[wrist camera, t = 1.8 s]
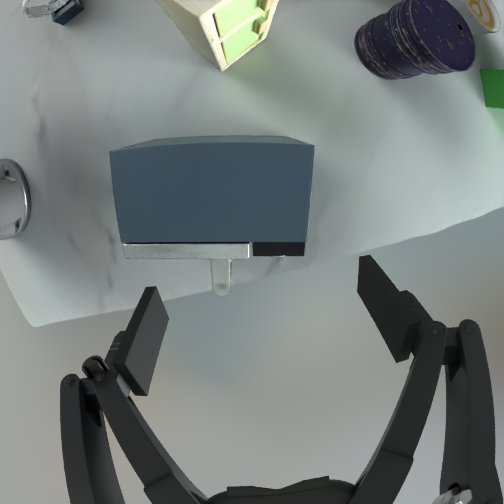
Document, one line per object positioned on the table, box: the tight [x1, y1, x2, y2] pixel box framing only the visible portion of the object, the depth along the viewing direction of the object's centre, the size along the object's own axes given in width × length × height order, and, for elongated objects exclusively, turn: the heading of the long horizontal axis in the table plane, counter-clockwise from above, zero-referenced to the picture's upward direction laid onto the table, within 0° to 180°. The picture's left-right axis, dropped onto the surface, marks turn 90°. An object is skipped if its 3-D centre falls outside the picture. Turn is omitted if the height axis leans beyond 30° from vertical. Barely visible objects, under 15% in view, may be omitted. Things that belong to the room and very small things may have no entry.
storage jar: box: [354, 0, 476, 80], centre depth 21 cm, size 10×10×15 cm
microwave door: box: [123, 242, 249, 296], centre depth 33 cm, size 8×13×14 cm, turn 89°
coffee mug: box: [446, 0, 501, 36], centre depth 17 cm, size 13×10×10 cm
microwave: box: [110, 135, 315, 257], centre depth 30 cm, size 11×18×14 cm, turn 89°
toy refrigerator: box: [156, 0, 278, 72], centre depth 18 cm, size 8×7×21 cm
